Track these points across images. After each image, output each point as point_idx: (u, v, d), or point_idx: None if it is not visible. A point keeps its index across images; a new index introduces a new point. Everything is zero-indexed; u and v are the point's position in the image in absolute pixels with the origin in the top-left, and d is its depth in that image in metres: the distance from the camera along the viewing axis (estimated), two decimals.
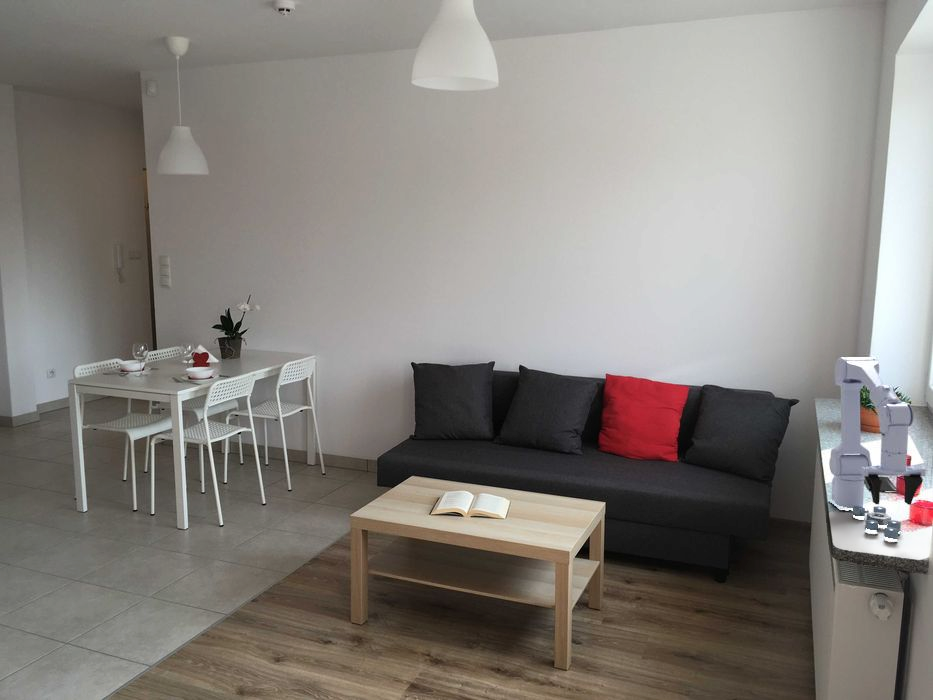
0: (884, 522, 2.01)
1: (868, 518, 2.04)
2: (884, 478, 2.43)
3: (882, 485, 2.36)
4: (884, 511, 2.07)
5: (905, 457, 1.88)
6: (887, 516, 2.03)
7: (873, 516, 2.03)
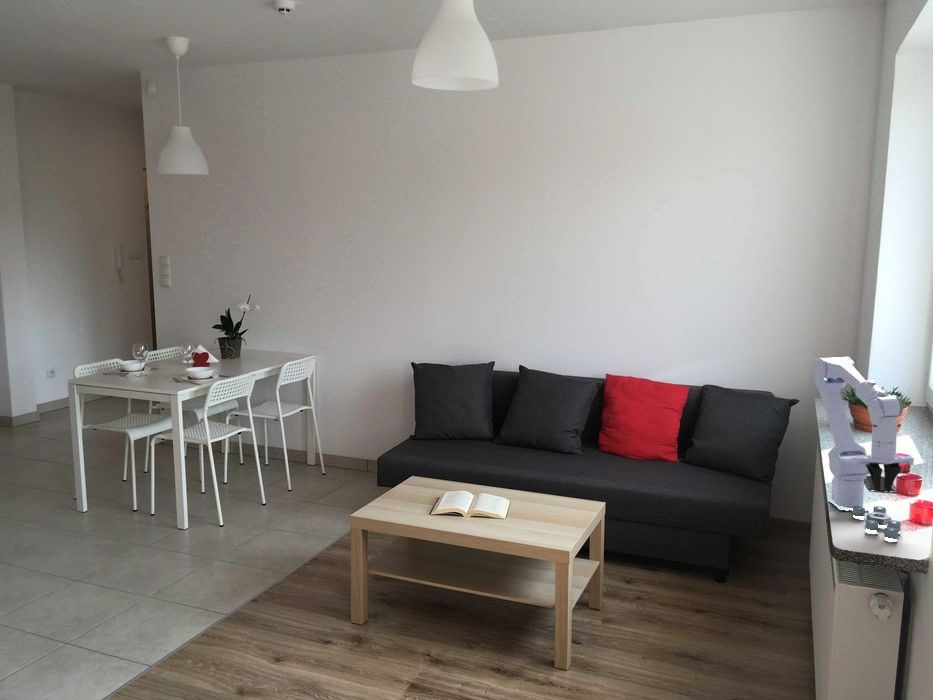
0: (884, 522, 2.01)
1: (868, 518, 2.04)
2: (884, 478, 2.43)
3: (882, 485, 2.36)
4: (884, 511, 2.07)
5: (895, 446, 2.00)
6: (887, 516, 2.03)
7: (873, 516, 2.03)
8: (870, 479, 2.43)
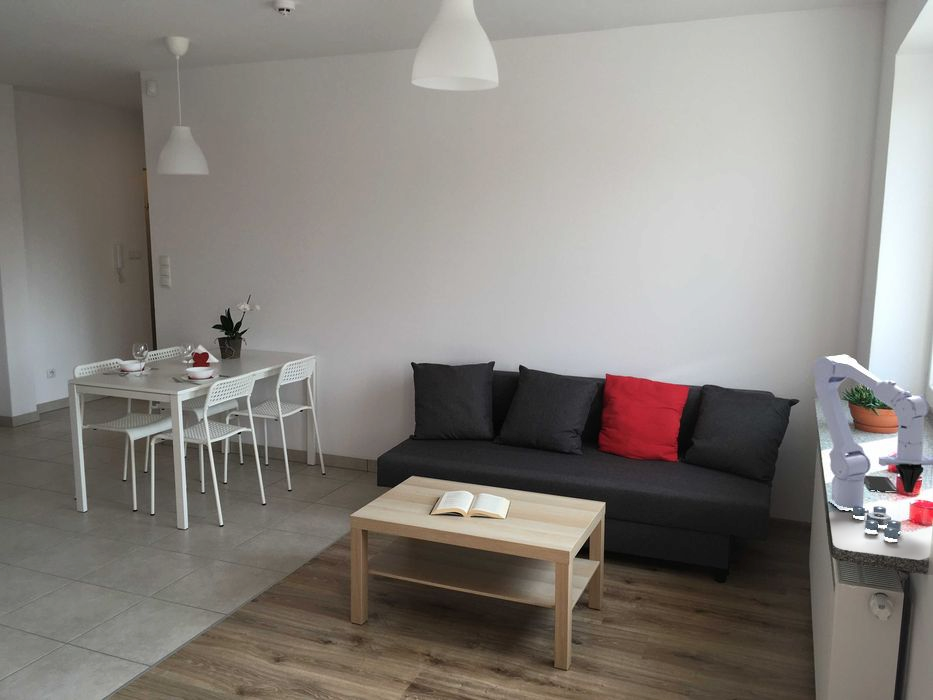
0: (884, 522, 2.01)
1: (868, 518, 2.04)
2: (884, 478, 2.43)
3: (882, 485, 2.36)
4: (884, 511, 2.07)
5: (921, 447, 1.98)
6: (887, 516, 2.03)
7: (873, 516, 2.03)
8: (870, 479, 2.43)
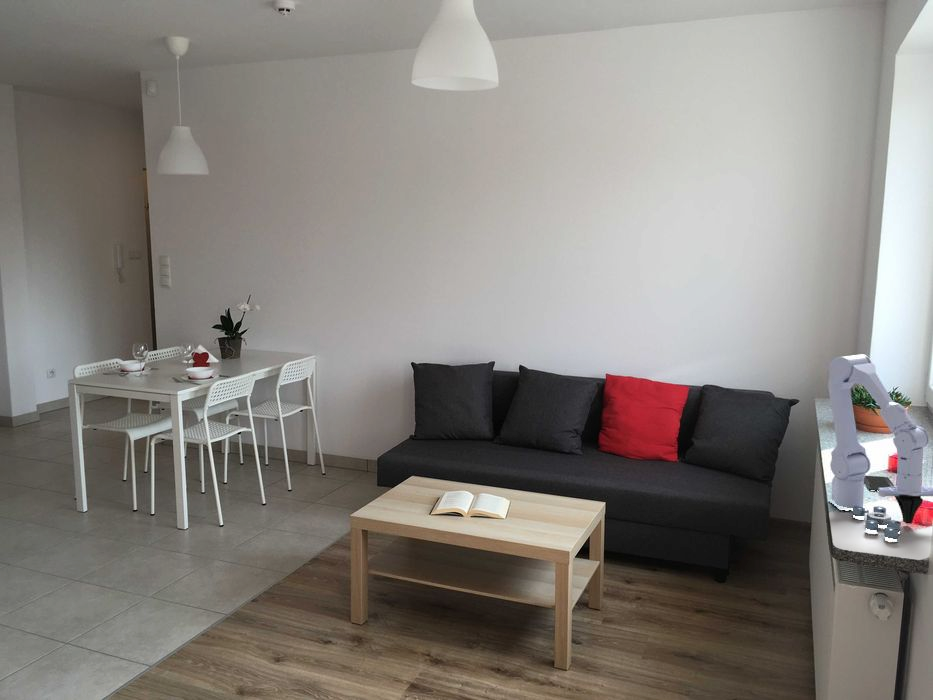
0: (884, 522, 2.01)
1: (868, 518, 2.04)
2: (884, 478, 2.43)
3: (882, 485, 2.36)
4: (884, 511, 2.07)
5: (921, 479, 1.99)
6: (887, 516, 2.03)
7: (873, 516, 2.03)
8: (870, 479, 2.43)
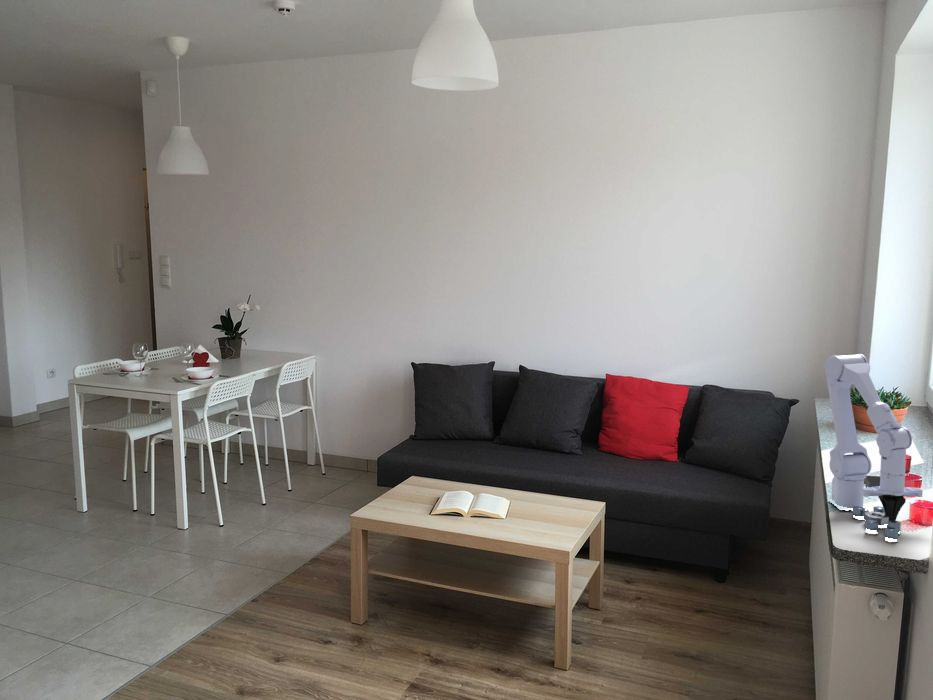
0: (882, 521, 2.01)
1: (866, 517, 2.04)
2: None
3: None
4: (884, 511, 2.07)
5: (904, 478, 2.00)
6: (885, 515, 2.03)
7: (871, 515, 2.03)
8: (870, 479, 2.43)
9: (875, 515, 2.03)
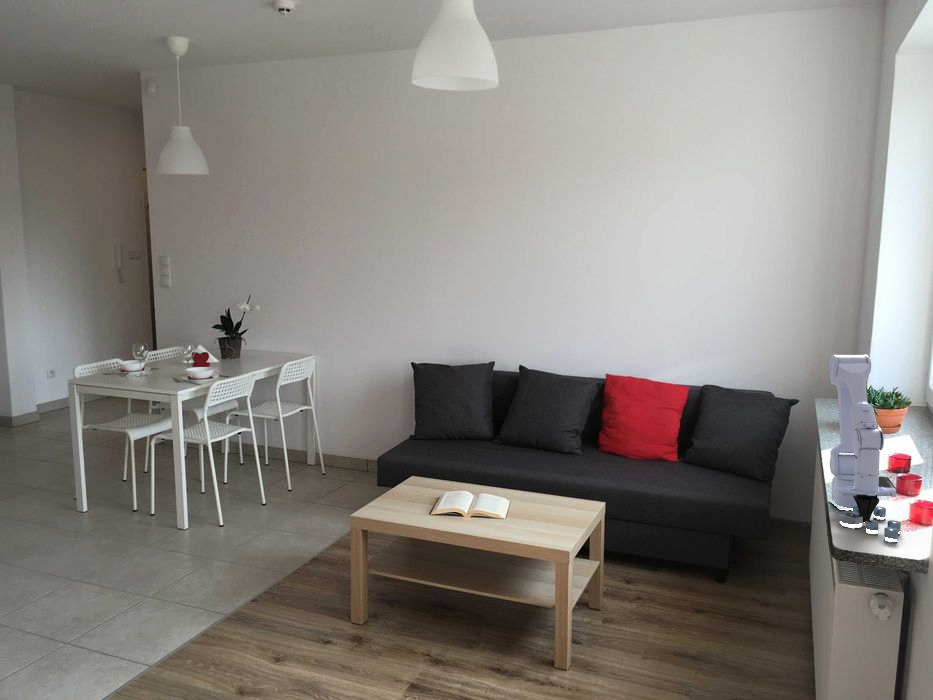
0: (856, 521, 2.02)
1: (840, 517, 2.05)
2: (884, 478, 2.43)
3: (882, 485, 2.36)
4: (884, 511, 2.07)
5: (877, 478, 2.00)
6: (859, 515, 2.03)
7: (845, 515, 2.04)
8: None
9: (849, 515, 2.04)
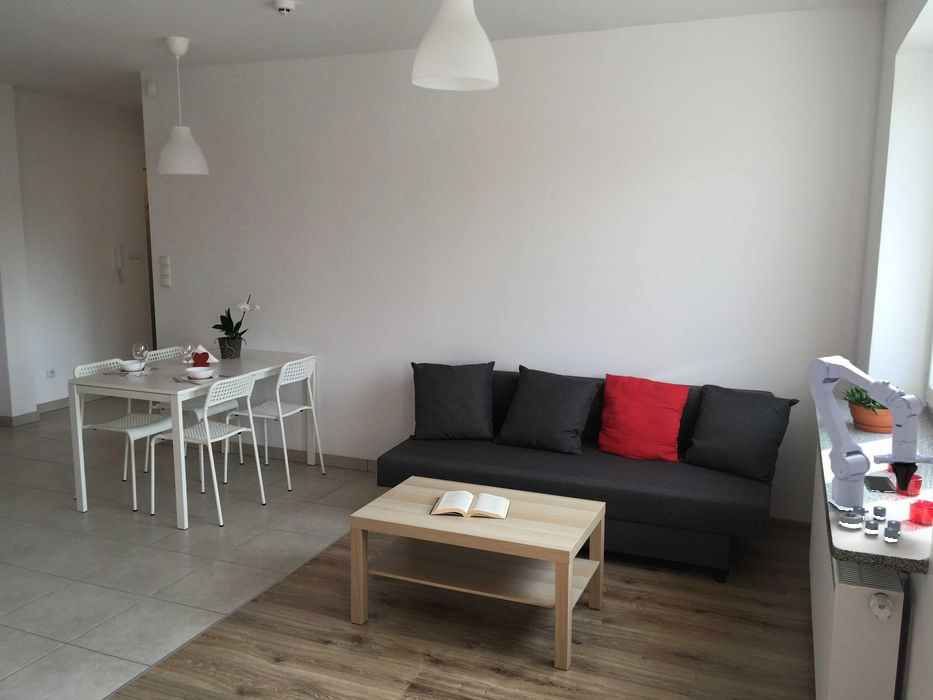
0: (855, 522, 2.02)
1: (840, 518, 2.05)
2: (884, 478, 2.43)
3: (882, 485, 2.36)
4: (884, 511, 2.07)
5: (916, 445, 2.00)
6: (859, 516, 2.03)
7: (845, 516, 2.04)
8: (870, 479, 2.43)
9: (849, 515, 2.04)
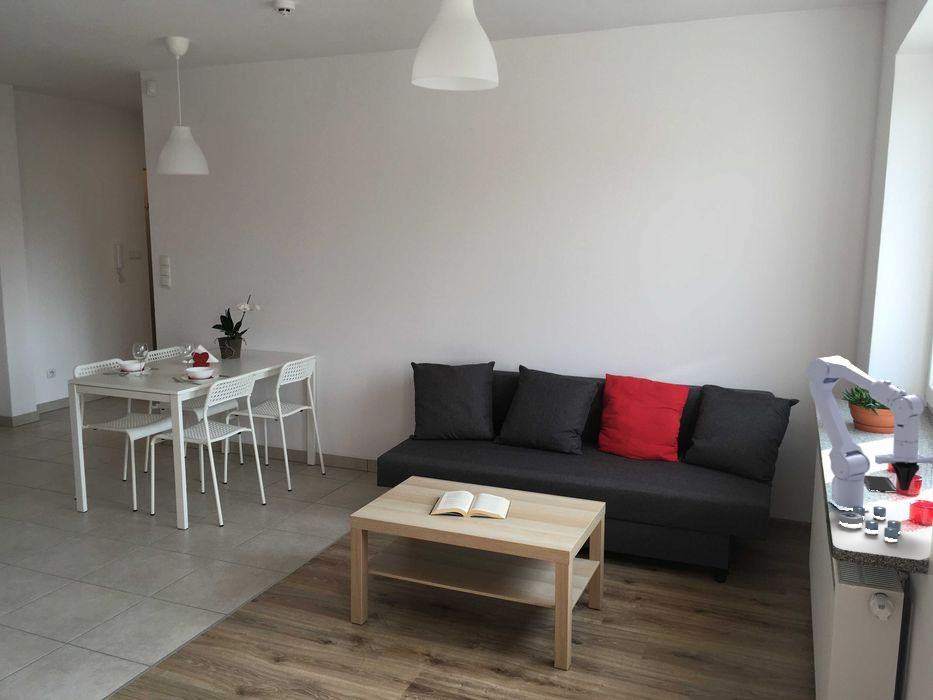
0: (855, 522, 2.02)
1: (840, 518, 2.05)
2: (884, 478, 2.43)
3: (882, 485, 2.36)
4: (884, 511, 2.07)
5: (917, 445, 2.00)
6: (859, 516, 2.03)
7: (845, 516, 2.04)
8: (870, 479, 2.43)
9: (849, 515, 2.04)
